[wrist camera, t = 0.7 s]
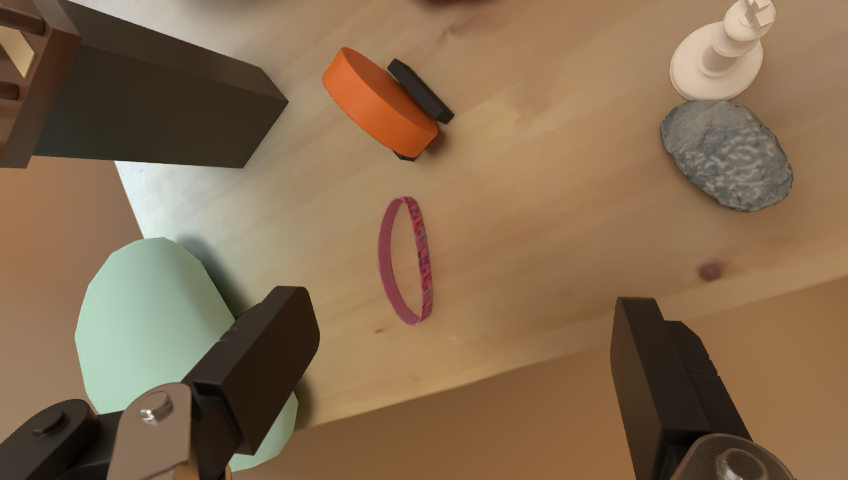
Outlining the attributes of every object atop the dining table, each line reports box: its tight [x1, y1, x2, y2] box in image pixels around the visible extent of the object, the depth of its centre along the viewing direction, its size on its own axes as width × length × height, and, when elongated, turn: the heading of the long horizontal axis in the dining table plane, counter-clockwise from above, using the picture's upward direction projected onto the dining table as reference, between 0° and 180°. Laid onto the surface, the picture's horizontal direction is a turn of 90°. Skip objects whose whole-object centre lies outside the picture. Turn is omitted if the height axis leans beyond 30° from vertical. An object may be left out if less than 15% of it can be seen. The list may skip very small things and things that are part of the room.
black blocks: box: [387, 59, 454, 161], centre depth 35 cm, size 6×5×2 cm
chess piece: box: [670, 0, 776, 101], centre depth 23 cm, size 5×5×10 cm
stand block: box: [32, 0, 288, 168], centre depth 35 cm, size 5×9×18 cm, turn 134°
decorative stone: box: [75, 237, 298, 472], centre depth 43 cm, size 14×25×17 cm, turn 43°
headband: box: [378, 197, 432, 326], centre depth 37 cm, size 11×4×2 cm, turn 9°
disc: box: [322, 47, 438, 158], centre depth 32 cm, size 9×2×9 cm, turn 44°
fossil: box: [660, 100, 793, 212], centre depth 26 cm, size 8×4×5 cm
